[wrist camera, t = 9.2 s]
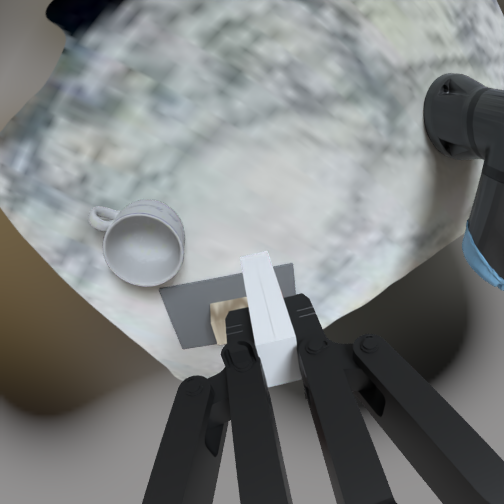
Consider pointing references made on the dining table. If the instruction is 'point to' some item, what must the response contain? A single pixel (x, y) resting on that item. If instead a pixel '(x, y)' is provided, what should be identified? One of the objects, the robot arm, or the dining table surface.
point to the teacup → (141, 241)
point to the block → (224, 316)
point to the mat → (202, 295)
